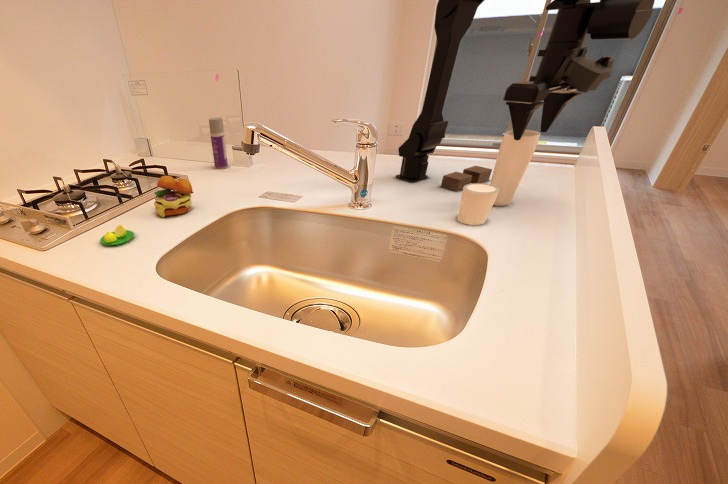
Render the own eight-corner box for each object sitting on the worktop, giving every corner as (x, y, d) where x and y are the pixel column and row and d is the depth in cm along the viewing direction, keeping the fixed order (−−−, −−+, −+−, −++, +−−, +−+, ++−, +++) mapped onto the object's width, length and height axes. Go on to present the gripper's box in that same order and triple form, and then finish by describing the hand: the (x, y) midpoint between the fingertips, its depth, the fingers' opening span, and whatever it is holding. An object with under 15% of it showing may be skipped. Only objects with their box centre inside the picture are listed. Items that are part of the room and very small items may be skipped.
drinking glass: (518, 208, 85) (546, 136, 75) (486, 208, 86) (510, 137, 76) (508, 197, 90) (534, 128, 80) (478, 197, 91) (500, 130, 81)
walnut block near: (440, 187, 99) (443, 175, 97) (453, 182, 100) (456, 171, 98) (456, 191, 95) (459, 179, 93) (469, 187, 97) (472, 175, 95)
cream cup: (490, 216, 82) (501, 184, 78) (486, 228, 78) (497, 195, 74) (457, 212, 85) (466, 181, 81) (451, 223, 81) (460, 191, 77)
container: (213, 169, 128) (206, 120, 118) (216, 165, 131) (210, 117, 122) (226, 168, 127) (220, 119, 117) (229, 165, 130) (223, 116, 121)
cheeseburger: (146, 214, 99) (143, 174, 94) (176, 210, 106) (174, 173, 102) (171, 220, 94) (169, 178, 89) (200, 216, 101) (200, 177, 96)
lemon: (118, 230, 92) (115, 219, 90) (141, 235, 88) (138, 224, 87) (94, 243, 87) (89, 232, 85) (117, 249, 83) (113, 237, 82)
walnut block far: (460, 180, 101) (463, 169, 99) (472, 176, 103) (475, 165, 101) (476, 184, 98) (480, 173, 96) (488, 180, 100) (492, 169, 98)
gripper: (586, 45, 58) (543, 151, 68) (644, 35, 65) (597, 133, 75) (517, 46, 66) (488, 141, 76) (575, 37, 72) (541, 126, 82)
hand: (530, 136), depth 77 cm, fingers open, 9 cm apart
